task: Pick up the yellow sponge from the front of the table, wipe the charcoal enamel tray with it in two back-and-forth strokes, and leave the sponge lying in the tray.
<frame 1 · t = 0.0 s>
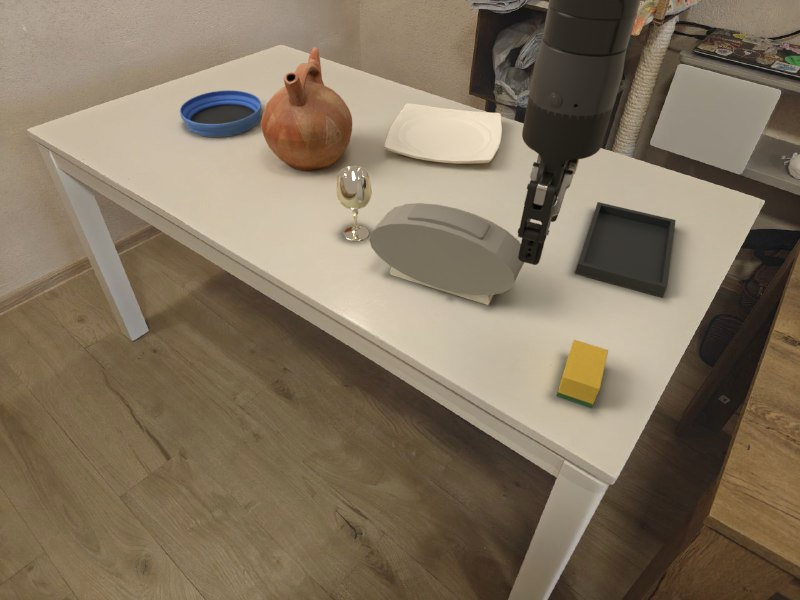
hand: (538, 238, 60), 21 cm above the table, tool pointing down, fingers open, 8 cm apart
sponge: (578, 382, 73), on the table
jug: (311, 157, 115), on the table
plate: (444, 141, 121), on the table
alarm clock: (443, 281, 87), on the table
tray: (625, 250, 93), on the table
wineglass: (356, 234, 96), on the table
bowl: (224, 121, 127), on the table
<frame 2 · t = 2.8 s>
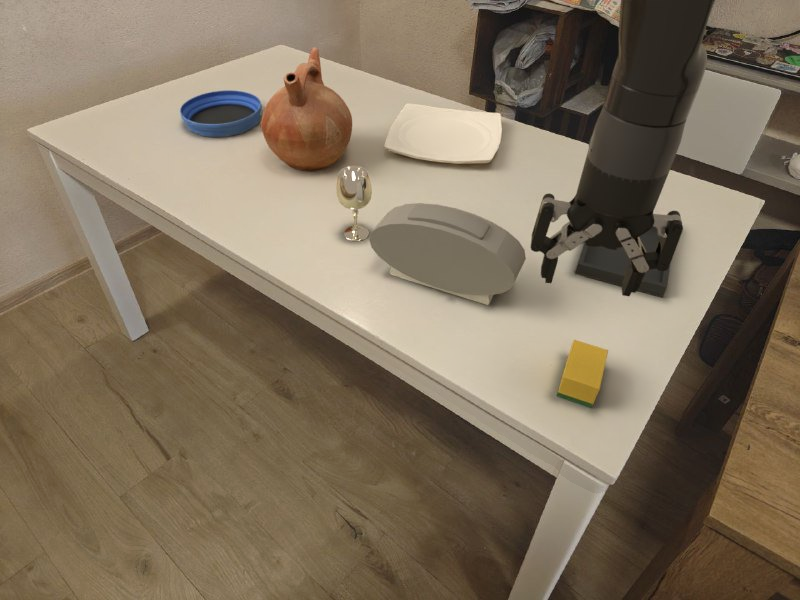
hand: (586, 285, 62), 16 cm above the table, tool pointing down, fingers open, 8 cm apart
nothing on the table moved.
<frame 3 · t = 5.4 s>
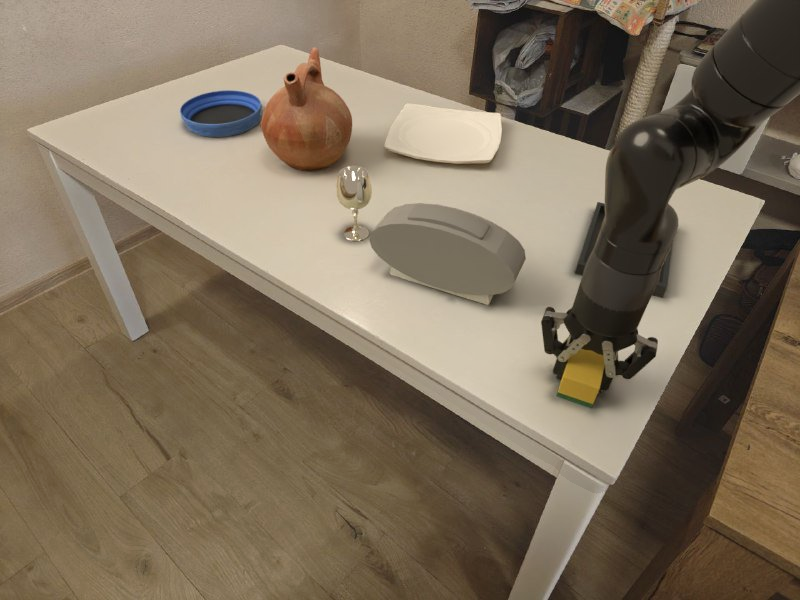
hand: (579, 381, 72), 0 cm above the table, tool pointing down, fingers closed on sponge, 4 cm apart
sponge: (578, 382, 73), on the table, touching gripper
everything else where it was.
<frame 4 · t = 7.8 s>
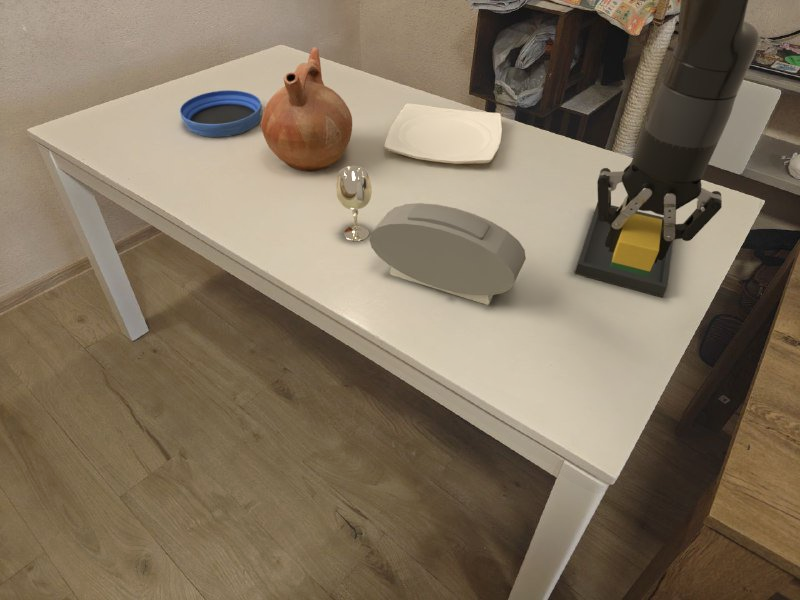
hand: (632, 253, 69), 15 cm above the table, tool pointing down, fingers closed on sponge, 4 cm apart
sponge: (631, 255, 70), point 14 cm above the table, touching gripper
everything else where it was.
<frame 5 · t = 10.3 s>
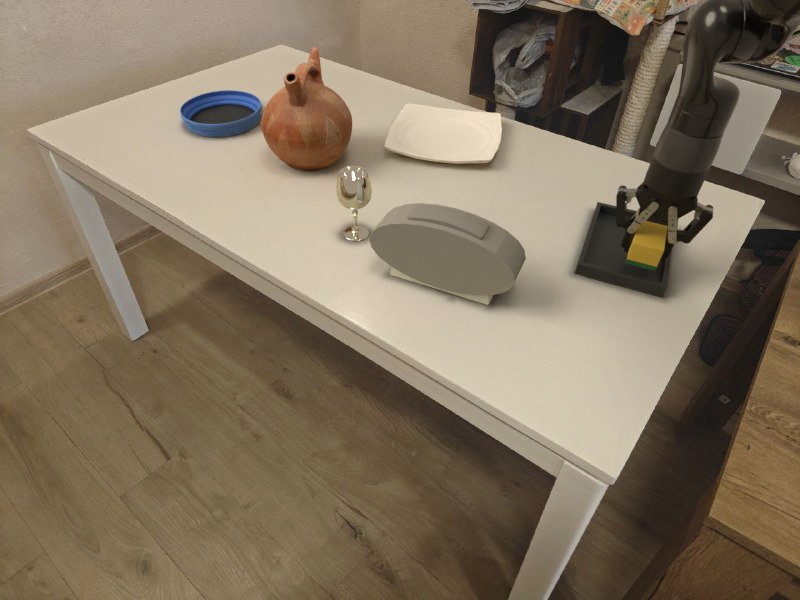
hand: (643, 252, 87), 4 cm above the table, tool pointing down, fingers closed on sponge, 4 cm apart
sponge: (642, 254, 88), point 3 cm above the table, touching gripper
everything else where it was.
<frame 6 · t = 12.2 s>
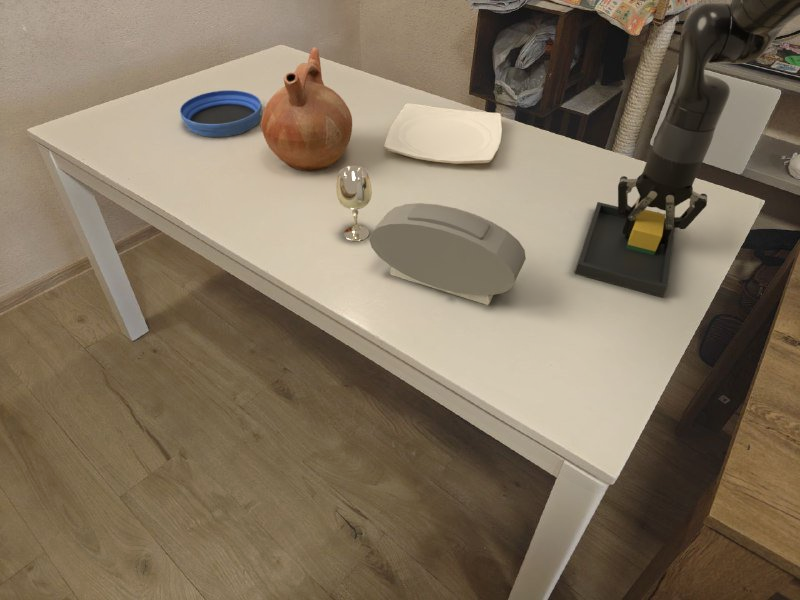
hand: (643, 239, 94), 1 cm above the table, tool pointing down, fingers closed on sponge, 4 cm apart
sponge: (642, 240, 95), point 1 cm above the table, touching gripper, tray
everything else where it was.
when the fingers open (1 cm above the table, at t = 15.4 s): sponge stays where it is, resting on tray.
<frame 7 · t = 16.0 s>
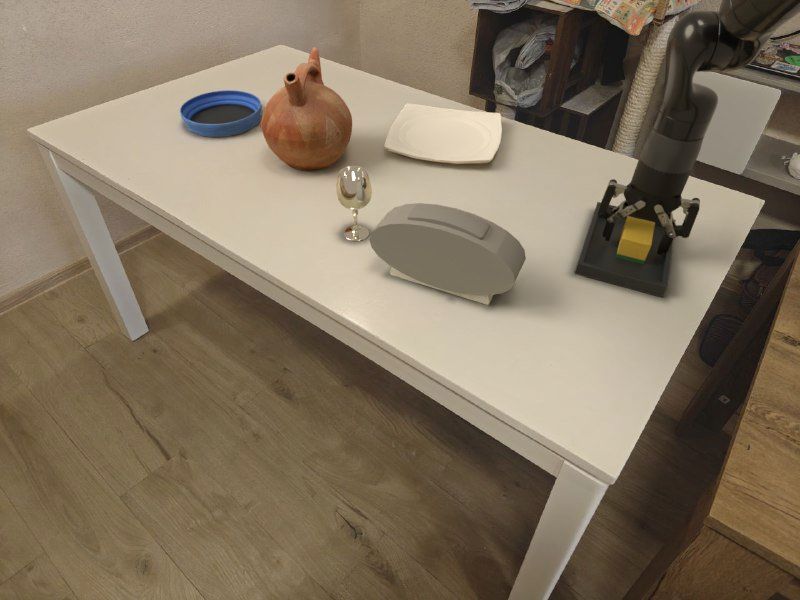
hand: (633, 245, 92), 2 cm above the table, tool pointing down, fingers open, 8 cm apart
sponge: (631, 249, 93), point 1 cm above the table, touching tray
everything else where it was.
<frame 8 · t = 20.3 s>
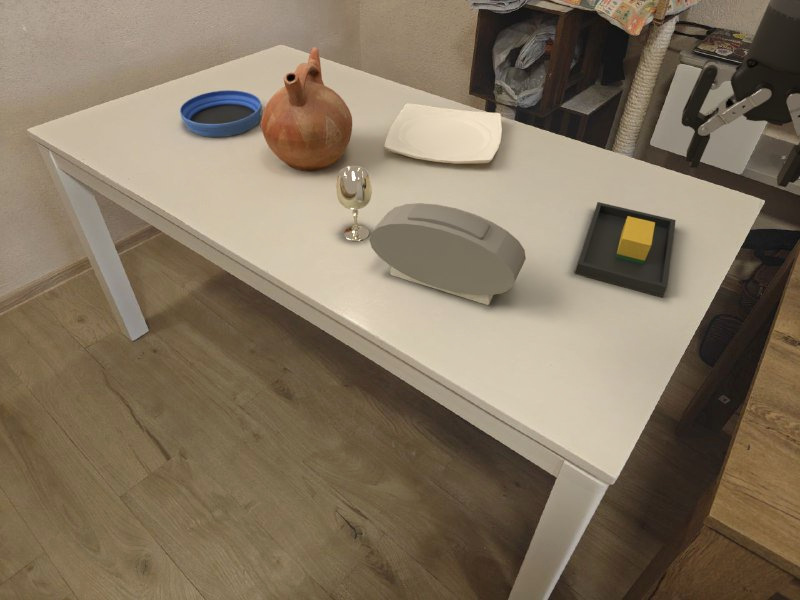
hand: (736, 173, 58), 28 cm above the table, tool pointing down, fingers open, 8 cm apart
nothing on the table moved.
at the end: sponge inside the target area in the tray (0.9 cm from its centre), point 0.6 cm above the tray's base; sponge moved 32.2 cm from its start; the gripper is holding nothing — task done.
